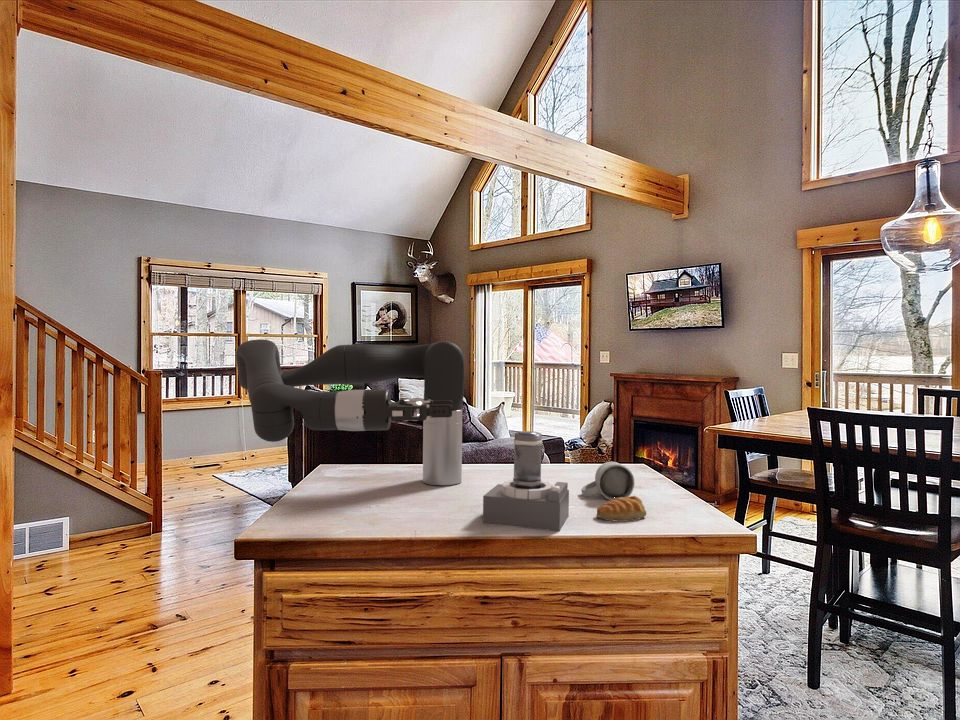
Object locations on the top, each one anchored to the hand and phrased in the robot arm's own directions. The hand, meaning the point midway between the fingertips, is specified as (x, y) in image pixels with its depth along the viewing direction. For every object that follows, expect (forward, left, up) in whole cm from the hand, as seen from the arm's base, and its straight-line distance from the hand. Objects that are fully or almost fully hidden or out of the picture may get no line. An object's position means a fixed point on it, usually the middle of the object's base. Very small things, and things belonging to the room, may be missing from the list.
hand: (452, 408), depth 110 cm
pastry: (-13, +30, -21) cm, 39 cm away
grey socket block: (-5, +13, -21) cm, 25 cm away
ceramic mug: (-28, +26, -21) cm, 43 cm away
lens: (-5, +13, -16) cm, 21 cm away
